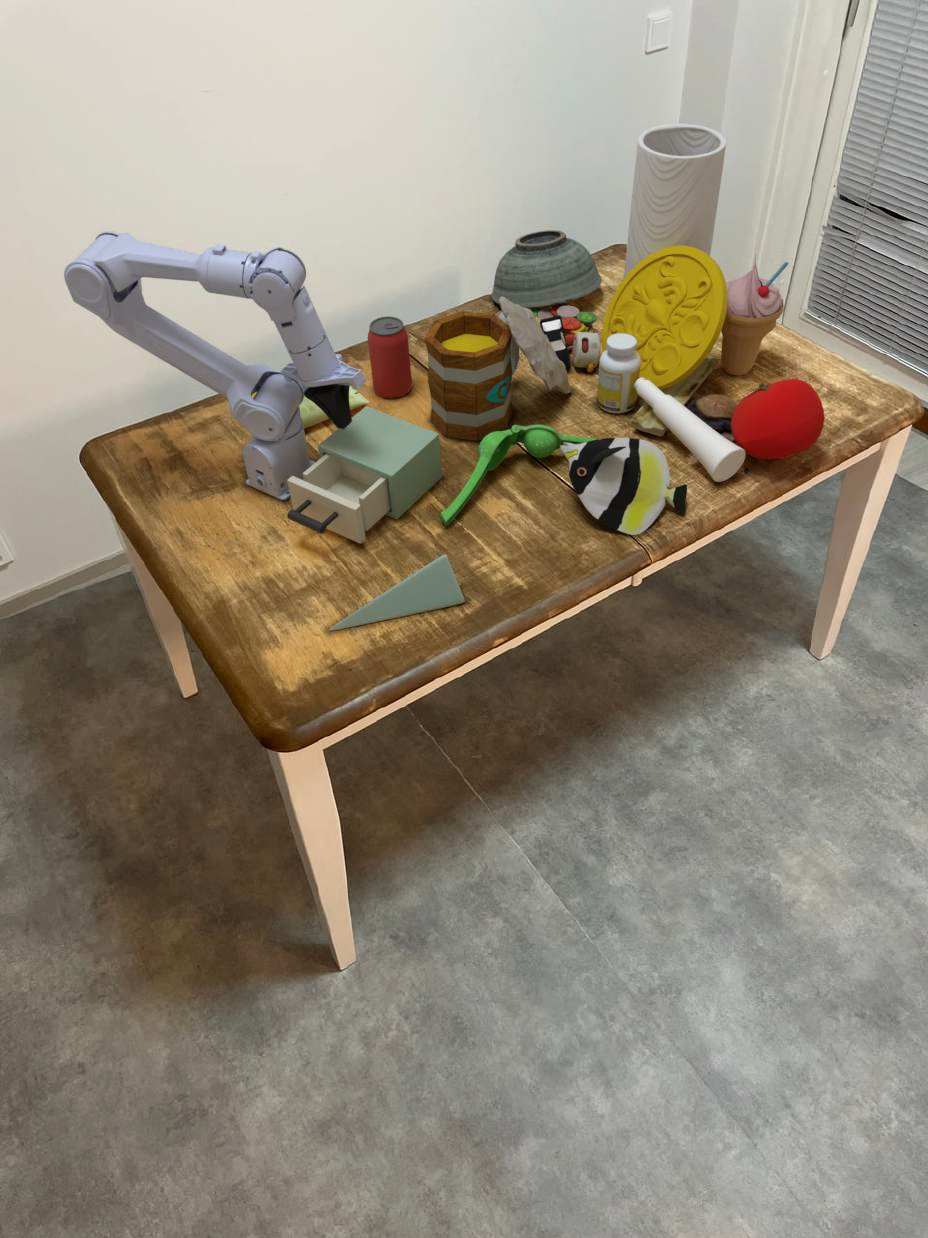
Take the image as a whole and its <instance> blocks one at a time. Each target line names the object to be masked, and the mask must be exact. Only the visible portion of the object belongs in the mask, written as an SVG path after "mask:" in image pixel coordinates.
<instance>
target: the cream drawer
mask: <svg viewBox="0 0 928 1238" xmlns="http://www.w3.org/2000/svg"><path fill="white" fill-rule="evenodd" d="M315 462H316V463H314V464H313V465H312V466H311V467H310V468H308V469H307V470H306V471H305V472H304V473H303V478H304V481H303V480H301V479H299V478H296V477H294V476H292V477H290V478H289V479H288V480H287V482H288V487H289V491H290V501H291V505H292V509H290V510H289V511H288V512H287V515H286V516H287V519H289V520H290V521H292V522H294V523H296V524H299V525H300V526H303V527H305V528H308V529H310V530H312V531H314V532H316V533H318V534H321V535H322V534H325V532H326V531H327V530H329V531H331V532H333V533H336V534H338V535H340V536H343V537H345V538H347V539H349V540H351V541H353V542H355V543H357V544H362V543H363V542H364V541H365V540H366V532H365V531H369V530H370V529H371V528H372V527H373V526H374V525H375V524H376V523H377V522H378V521H379V520H381V519H382V518H383V517H384V516H386V515H385V514H386V513H387V512H388V511H389V510H390V509H391V499H390V491H389V482H388V478H386V477H383V476H381V475H378V474H376V473H374V472H371V471H369V470H366V469H364V468H361V467H359V466H357V465H354V464H352V463H349V462H347V461H345V460H342V459H340V458H337V457H335V456H332V455H330V454H328V453H327V454H325V455H324V456H323V457H322V458H321V459H320V458H319V459H318V460H317V461H315Z"/></svg>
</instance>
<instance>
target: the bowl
mask: <svg viewBox="0 0 928 1238" xmlns="http://www.w3.org/2000/svg"><path fill="white" fill-rule="evenodd" d="M514 241H515V243H514V245H515V246H513V247H511V248H510V249H509V250H507V251H506V252H505V254H504V255H503V256H502V257H501V258H500V259H499V262H498V264H497V267H496V269H495V270H496V271H495V274H494V282H493V286H492V292H491V299H492V301H493V302H494V303H495V304H497V305H499V306H500V303H499V299H500V297H505V298H506V299H508V300H509V301H511V302H512V303H514V304H517V305H520V306H521V307H523V308H527V309H532V308H542V307H543V308H544V307H548V306H550V307H551V306H552V305H556V304H561V303H565V304H566V303H570V302H572V301H575V300H579V299H581V298H583V297H586V296H588V295H590V294H591V293H593V292H595V291H596V290H597V289H599V287H600V286H601V284H602V276H601V274H600V272H599V270H598V267H597V264H596V262H595V261H594V258H593V255H592V254H591V253H590V251H589V250H588V249H587V247H585V246H584V245H583V244H582V243H580V242H579V241H577V240H575V239H573V238H569V237H567V235H566V233H565V232H564V231H562V230H557V229H556V230H553V229H552V230H549V229H547V230H540V231H533V232H531V233H527V234H525V235H522V236H520V237H518V238H517V239H515V240H514Z"/></svg>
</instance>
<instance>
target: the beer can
mask: <svg viewBox="0 0 928 1238" xmlns="http://www.w3.org/2000/svg"><path fill="white" fill-rule="evenodd" d="M368 327H369V329H368V333H367V345H368V354H369V361H370V370H371V379H372V386H373V391H374V392H375V393H376V394H377V395H379V396H380V397H382V398H387V399H395V398H400V397H402V396H405V395H406V394H408V393H409V392H410V390H411V389H412V386H413V380H412V369H411V357H410V356H411V355H410V346H409V345H410V344H409V335H408V332H407V329H406V327H405V325H404V322H403V320H402V319H400V318H399V317H396V316H388V315H387V316H381V317H378V318H375V319H373V320H372V321H371V322H370V323H369V326H368Z"/></svg>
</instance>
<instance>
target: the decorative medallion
mask: <svg viewBox="0 0 928 1238" xmlns="http://www.w3.org/2000/svg"><path fill="white" fill-rule="evenodd" d="M726 283H727V281H726V278H725V275H724V272H723V270H722V269H721V267H720V265H719V264H718V262H717V261H716V260H715V259H714V258H713V257H712V256H711V255H710V256H709V255H707V254H706V253H704V252H703V251H701V250H699V249H696V248H694V247H690V246H671V247H667V248H664V249H661V250H659V251H657V252H654V253H653V254H651V255H649V256H648V257H646V258H645V259H643V260H642V261H641V262H639V263H638V264H637V265H636V266H635V267H634V268H633V269H632V270H631V271H630V272H629V273H628V274H627V275H626V277H625V278H624V277H623V279H622V280H621V281H620V283H619V284H618V286H617V288H616V289H615V291H614V293H613V295H612V297H611V299H610V301H609V303H608V305H607V309H606V310H605V314H604V319H603V324H602V329H601V331H602V332H601V349H602V353H603V352H604V351H606V350H607V349H606V343H607V339H608V337H610V336H611V335H614V334H619V333H624V334H629V335H632V336H633V337H635V339H636V340H637V347H636V352H637V353H638V354H639V356H640V359H641V365H640V375H639V378H642V377H643V378H645V379H646V380H649V381H651V382H652V383H653V384H654V385H655V386H656V387H657V388H659V389H660V390H662V389H665V388H669V387H671V386H673V385H675V384H677V383H679V382H680V381H682V380H683V379H685V378H686V377H687V376H689V375H690V374H691V373H692V372H693V371H695V370H696V369H697V368H698V367H699V366H700V364H701V363H702V362H703V361H704V360H705V359H707V357H708V356H709V354H710V353H711V351H712V350H713V349H714V346H715V345H716V344H717V341H718V339H719V337H720V335H721V333H722V331H721V330H722V327H723V324H724V320H725V316H726V311H727V301H728V300H727V286H726Z"/></svg>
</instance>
